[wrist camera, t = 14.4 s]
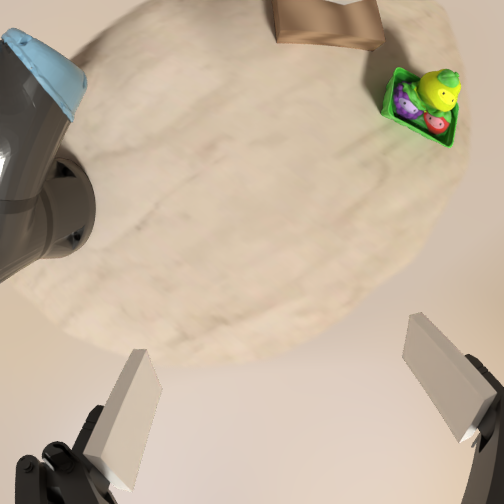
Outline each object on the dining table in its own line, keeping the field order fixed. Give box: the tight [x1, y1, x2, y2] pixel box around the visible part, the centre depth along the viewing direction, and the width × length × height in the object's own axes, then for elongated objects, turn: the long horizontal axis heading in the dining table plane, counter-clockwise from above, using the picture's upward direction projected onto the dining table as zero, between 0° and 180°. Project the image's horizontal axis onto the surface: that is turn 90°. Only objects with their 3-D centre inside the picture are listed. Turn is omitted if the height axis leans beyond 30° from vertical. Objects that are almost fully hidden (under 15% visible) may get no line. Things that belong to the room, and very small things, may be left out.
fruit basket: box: [381, 67, 461, 148], centre depth 28 cm, size 11×9×11 cm
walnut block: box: [272, 0, 386, 51], centre depth 27 cm, size 14×14×5 cm
